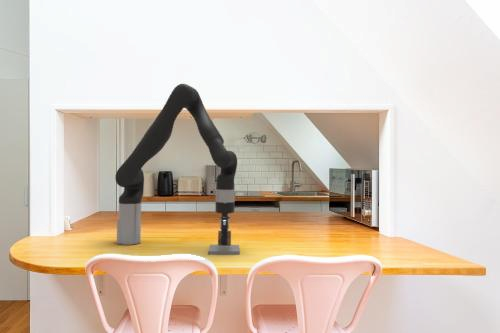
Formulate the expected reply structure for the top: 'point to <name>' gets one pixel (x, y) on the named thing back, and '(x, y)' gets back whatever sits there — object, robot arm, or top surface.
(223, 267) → the top surface
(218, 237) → the walnut cube
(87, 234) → the top surface
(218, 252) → the plate
